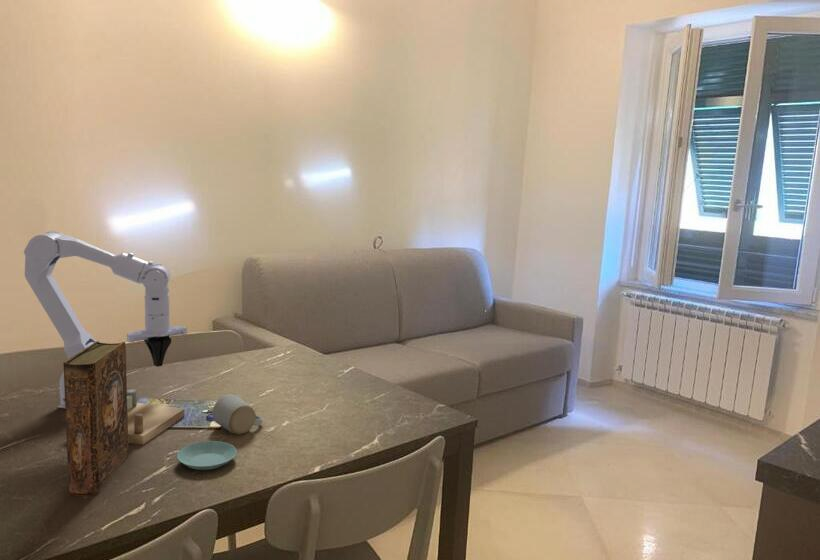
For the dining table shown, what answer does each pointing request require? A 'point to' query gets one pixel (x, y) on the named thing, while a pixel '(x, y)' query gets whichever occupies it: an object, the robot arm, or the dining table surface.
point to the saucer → (206, 455)
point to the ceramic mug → (235, 414)
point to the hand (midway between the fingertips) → (158, 365)
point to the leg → (131, 399)
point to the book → (95, 416)
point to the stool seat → (150, 421)
